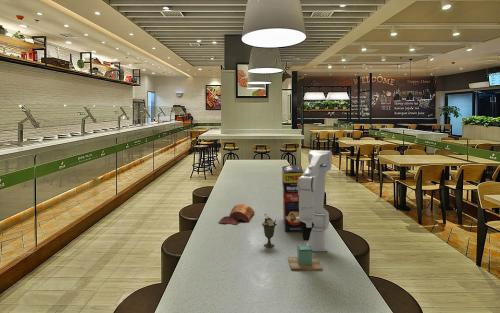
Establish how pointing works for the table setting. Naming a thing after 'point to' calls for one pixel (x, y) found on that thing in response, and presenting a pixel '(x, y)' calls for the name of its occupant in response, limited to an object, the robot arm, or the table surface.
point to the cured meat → (238, 214)
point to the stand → (297, 267)
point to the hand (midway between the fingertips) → (305, 240)
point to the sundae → (269, 230)
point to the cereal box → (291, 197)
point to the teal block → (304, 255)
